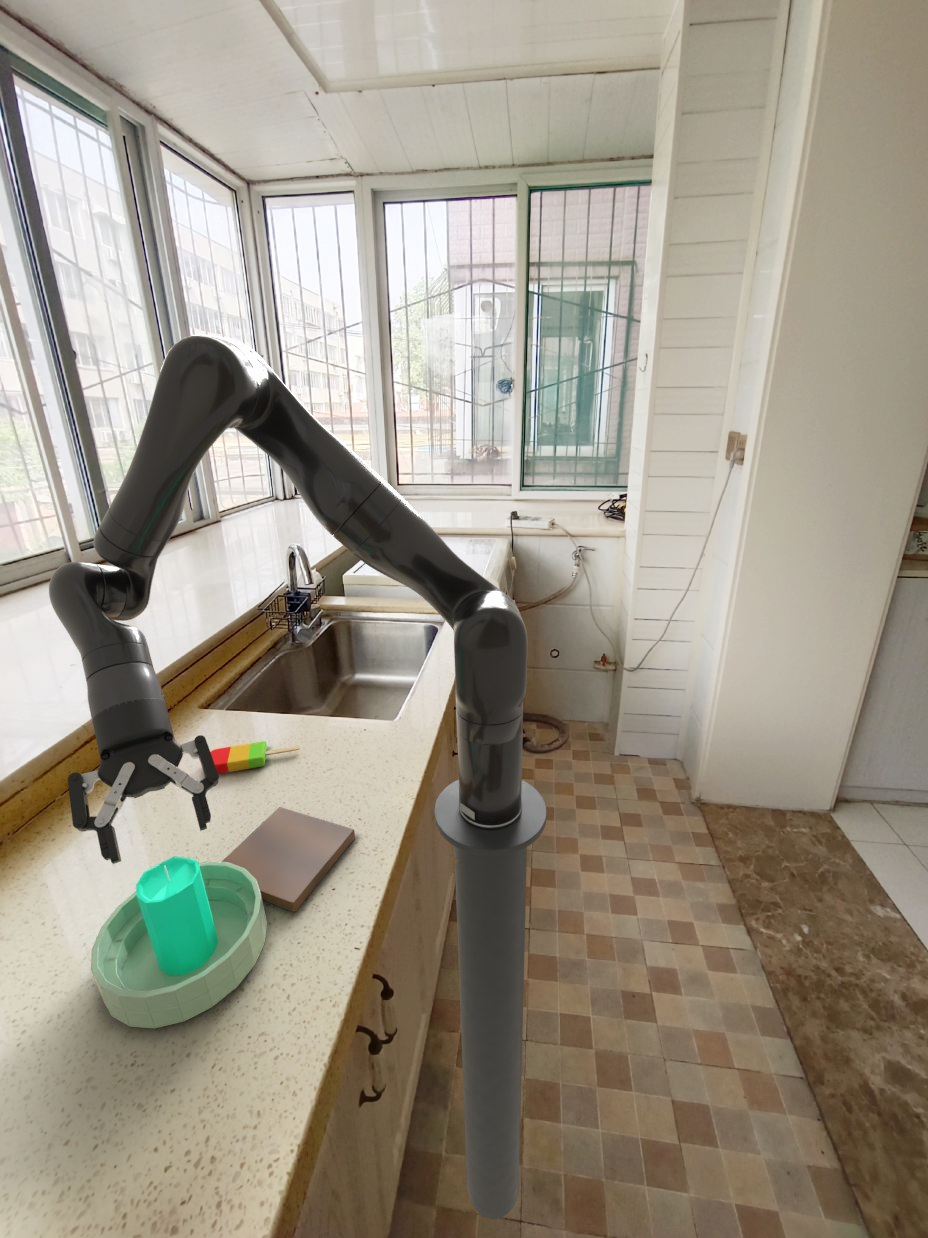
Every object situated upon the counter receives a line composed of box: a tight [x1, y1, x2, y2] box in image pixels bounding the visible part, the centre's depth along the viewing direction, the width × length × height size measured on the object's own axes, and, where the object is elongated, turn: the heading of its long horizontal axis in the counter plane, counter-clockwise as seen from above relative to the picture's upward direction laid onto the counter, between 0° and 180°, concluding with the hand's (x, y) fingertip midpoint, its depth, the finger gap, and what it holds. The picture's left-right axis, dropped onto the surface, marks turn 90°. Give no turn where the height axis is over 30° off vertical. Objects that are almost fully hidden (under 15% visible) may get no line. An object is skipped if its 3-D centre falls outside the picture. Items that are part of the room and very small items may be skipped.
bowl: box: [90, 861, 268, 1029], centre depth 59 cm, size 16×16×5 cm
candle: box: [135, 855, 218, 975], centre depth 57 cm, size 6×6×12 cm
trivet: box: [221, 806, 356, 913], centre depth 72 cm, size 13×13×2 cm
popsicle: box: [210, 740, 301, 775], centre depth 93 cm, size 6×15×2 cm, turn 105°
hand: (161, 845), depth 59 cm, fingers open, 8 cm apart
